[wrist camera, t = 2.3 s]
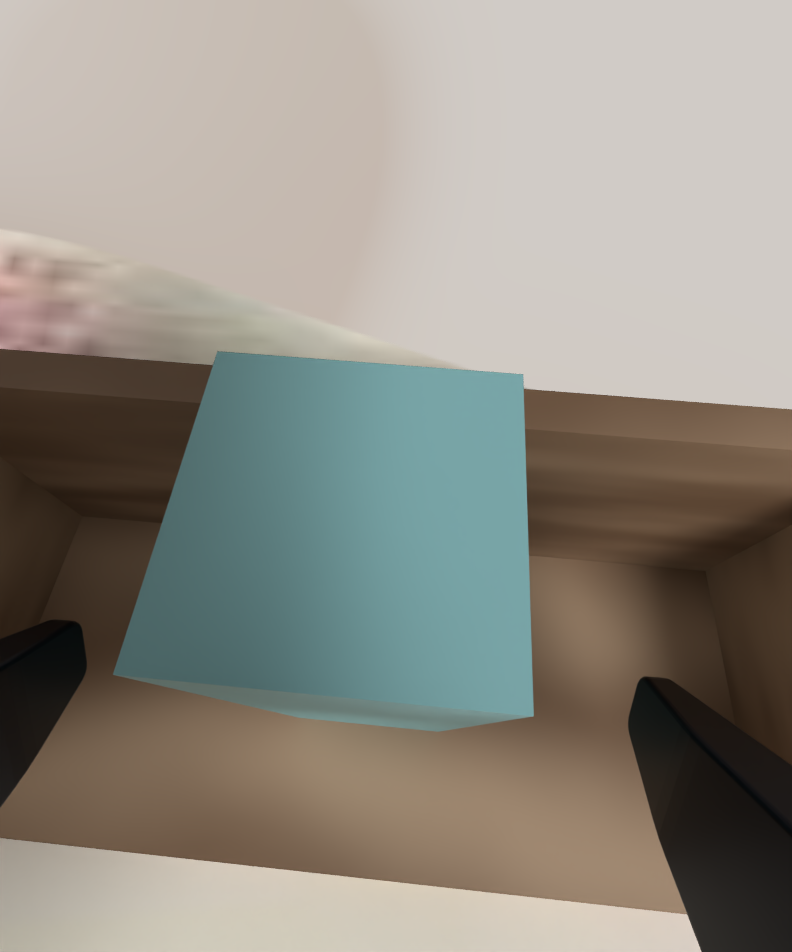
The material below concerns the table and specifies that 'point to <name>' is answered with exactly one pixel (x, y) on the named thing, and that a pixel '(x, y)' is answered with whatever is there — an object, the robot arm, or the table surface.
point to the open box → (389, 748)
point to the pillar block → (346, 547)
